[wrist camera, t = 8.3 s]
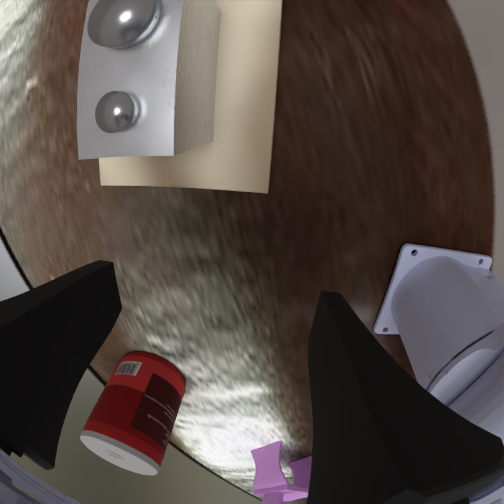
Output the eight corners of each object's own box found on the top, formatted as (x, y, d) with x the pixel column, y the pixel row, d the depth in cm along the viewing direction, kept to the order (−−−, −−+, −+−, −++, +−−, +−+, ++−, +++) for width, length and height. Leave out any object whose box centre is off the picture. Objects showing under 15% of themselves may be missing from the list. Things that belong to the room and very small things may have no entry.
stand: (282, -7, 11) (282, -17, 10) (269, 187, 17) (267, 193, 16) (119, 9, 12) (108, 4, 11) (112, 180, 18) (101, 185, 17)
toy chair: (287, 465, 36) (281, 541, 23) (246, 452, 35) (233, 537, 21) (326, 452, 33) (327, 538, 20) (285, 438, 31) (278, 538, 18)
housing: (213, 141, 15) (164, 159, 9) (141, 142, 15) (67, 163, 9) (221, 11, 11) (182, -44, 5) (147, 20, 11) (80, -13, 5)
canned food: (115, 371, 28) (77, 444, 18) (131, 337, 25) (81, 427, 15) (171, 402, 30) (145, 479, 20) (199, 375, 26) (169, 471, 16)
